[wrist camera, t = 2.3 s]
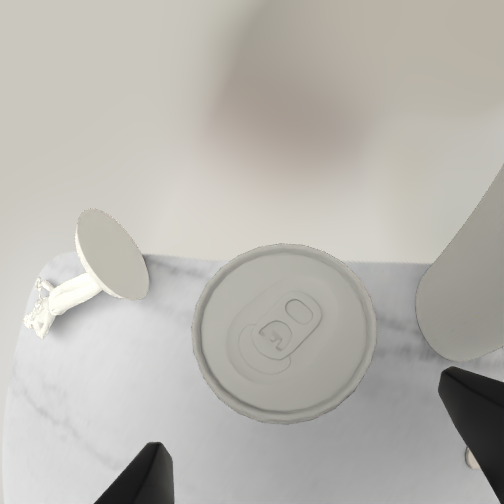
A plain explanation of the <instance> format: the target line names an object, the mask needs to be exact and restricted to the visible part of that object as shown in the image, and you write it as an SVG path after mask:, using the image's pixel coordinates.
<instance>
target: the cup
mask: <svg viewBox="0 0 504 504" xmlns="http://www.w3.org/2000/svg"><path fill="white" fill-rule="evenodd" d="M415 307H416V316H417V320H418V324H419V327H420V329H421V332H422V334H423V336H424V338H425V339H426V341H427V342H428V344H429V345H430V346H431V347H432V348H433V349H434V350H435V351H436V352H437V353H438V354H440V355H441V356H443V357H444V358H446V359H449V360H451V361H456V362H466V361H471V360H473V359H476V358H478V357H481V356H483V355H485V354H488V353H490V352H492V351H495V350H497V349H499V348H501V347H503V346H504V165H503V166H502V168H501V170H500V171H499V173H498V175H497V176H496V178H495V180H494V181H493V183H492V184H491V186H490V187H489V189H488V191H487V192H486V193H485V195H484V196H483V198H482V200H481V201H480V203H479V204H478V205H477V207H476V208H475V210H474V211H473V213H472V214H471V215H470V217H469V218H468V220H467V221H466V222H465V224H464V225H463V226H462V228H461V229H460V230H459V232H458V233H457V234H456V236H455V237H454V238H453V240H452V241H451V242H450V243H449V245H448V246H447V247H446V249H445V250H444V251H443V252H442V254H441V255H440V256H439V257H438V259H437V260H436V261H435V262H434V263H433V264H432V266H431V267H430V268H429V269H428V270H427V271H426V273H425V274H424V275H423V277H422V279H421V280H420V283H419V285H418V288H417V292H416V300H415Z"/></svg>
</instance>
